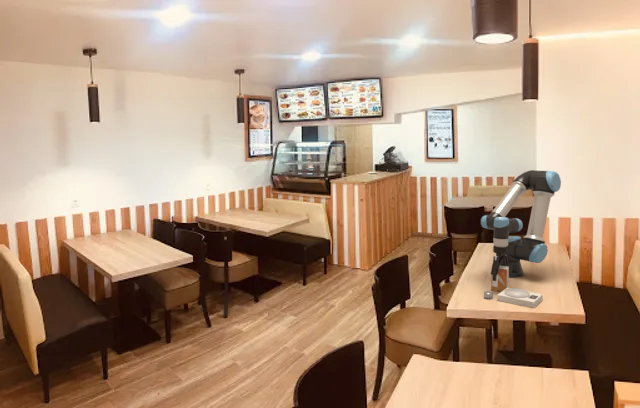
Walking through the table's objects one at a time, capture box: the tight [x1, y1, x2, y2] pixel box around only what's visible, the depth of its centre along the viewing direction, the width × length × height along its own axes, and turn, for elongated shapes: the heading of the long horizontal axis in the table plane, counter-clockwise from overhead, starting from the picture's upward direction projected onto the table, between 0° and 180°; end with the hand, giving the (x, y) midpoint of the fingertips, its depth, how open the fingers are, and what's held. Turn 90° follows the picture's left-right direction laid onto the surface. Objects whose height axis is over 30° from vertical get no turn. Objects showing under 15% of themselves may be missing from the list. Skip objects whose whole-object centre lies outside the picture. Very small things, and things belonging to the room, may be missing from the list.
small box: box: [490, 266, 510, 292], centre depth 251 cm, size 8×6×13 cm
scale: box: [496, 287, 544, 309], centre depth 235 cm, size 18×14×4 cm
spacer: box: [483, 290, 494, 300], centre depth 239 cm, size 4×4×3 cm
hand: (499, 283), depth 251 cm, fingers open, 13 cm apart
